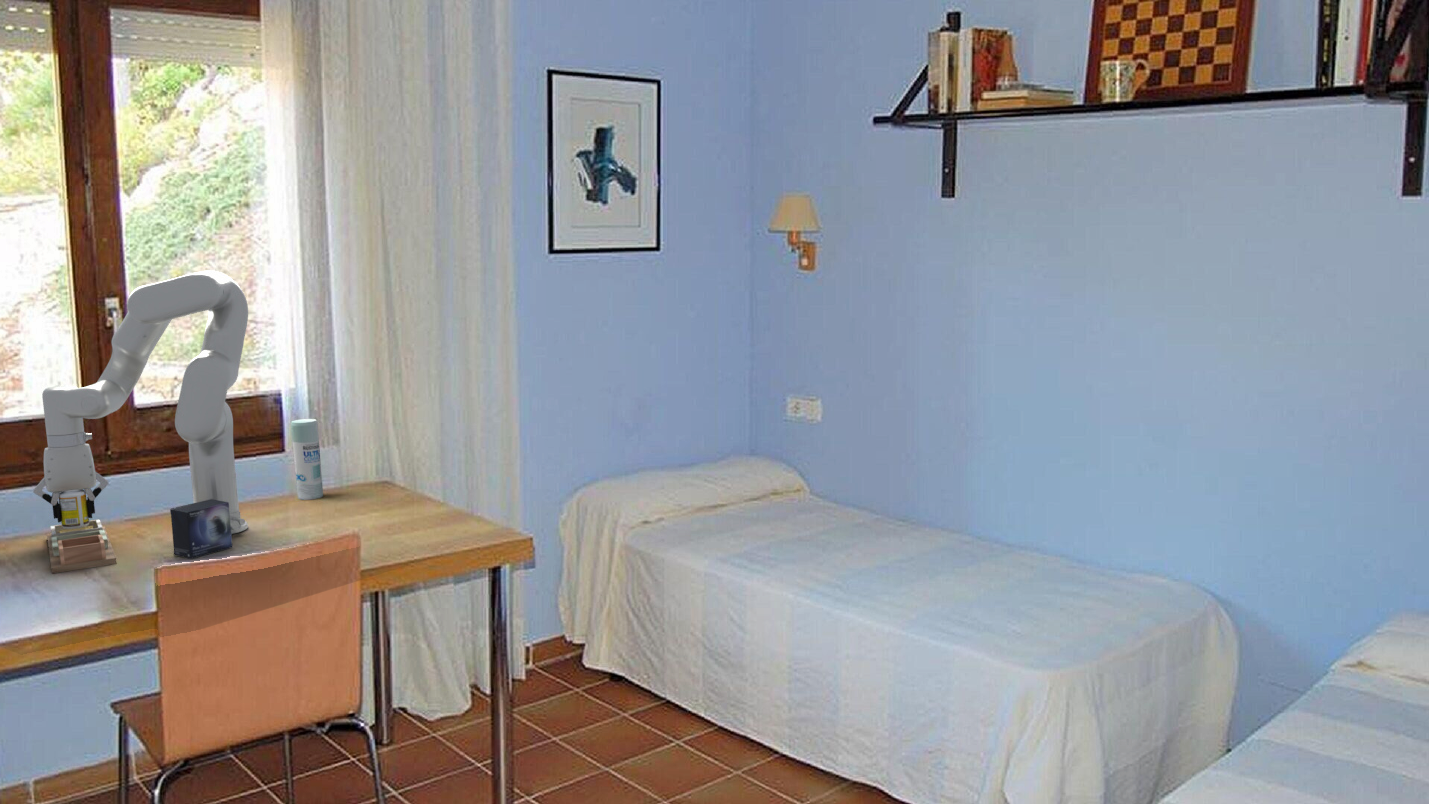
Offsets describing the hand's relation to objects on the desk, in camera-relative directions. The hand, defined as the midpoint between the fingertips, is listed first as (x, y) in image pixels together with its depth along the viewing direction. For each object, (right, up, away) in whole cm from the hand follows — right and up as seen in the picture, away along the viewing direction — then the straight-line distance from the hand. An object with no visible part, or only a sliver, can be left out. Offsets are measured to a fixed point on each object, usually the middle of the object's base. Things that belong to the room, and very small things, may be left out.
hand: (74, 518), depth 276 cm
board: (+5, -6, -8) cm, 11 cm away
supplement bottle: (0, -2, 0) cm, 2 cm away
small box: (+35, -6, -12) cm, 37 cm away
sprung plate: (0, -4, +1) cm, 4 cm away
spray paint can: (+41, +2, +39) cm, 56 cm away
